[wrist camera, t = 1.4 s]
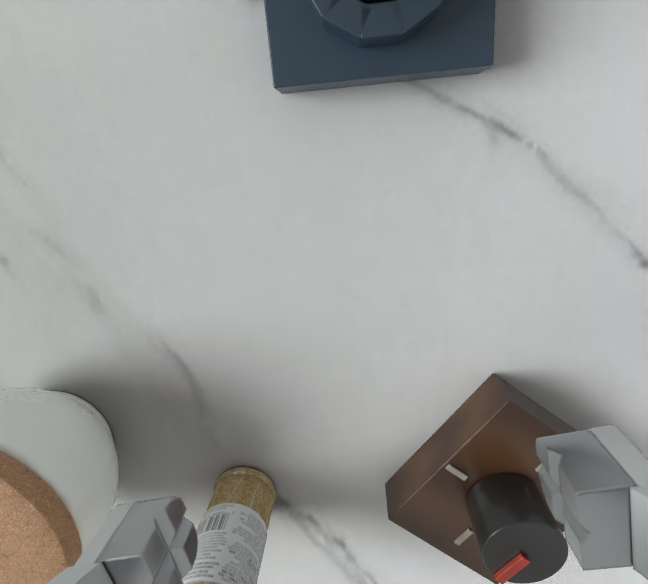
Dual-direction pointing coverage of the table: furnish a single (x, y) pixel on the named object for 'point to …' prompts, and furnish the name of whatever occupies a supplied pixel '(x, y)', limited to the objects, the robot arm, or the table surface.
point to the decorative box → (51, 481)
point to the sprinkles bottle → (234, 529)
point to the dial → (515, 529)
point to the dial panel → (469, 467)
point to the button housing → (376, 41)
